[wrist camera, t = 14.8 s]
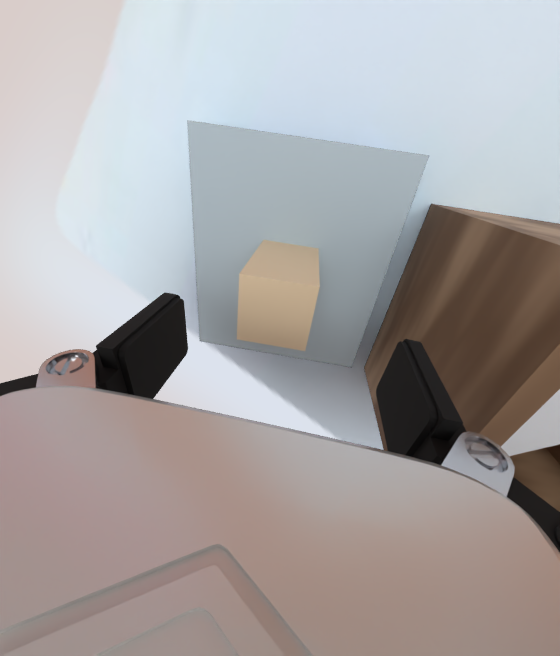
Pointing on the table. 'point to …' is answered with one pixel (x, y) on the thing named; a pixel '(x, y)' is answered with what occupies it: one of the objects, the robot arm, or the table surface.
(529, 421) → the small box
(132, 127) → the table surface
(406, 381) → the robot arm
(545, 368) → the crate
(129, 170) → the table surface
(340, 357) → the lid
